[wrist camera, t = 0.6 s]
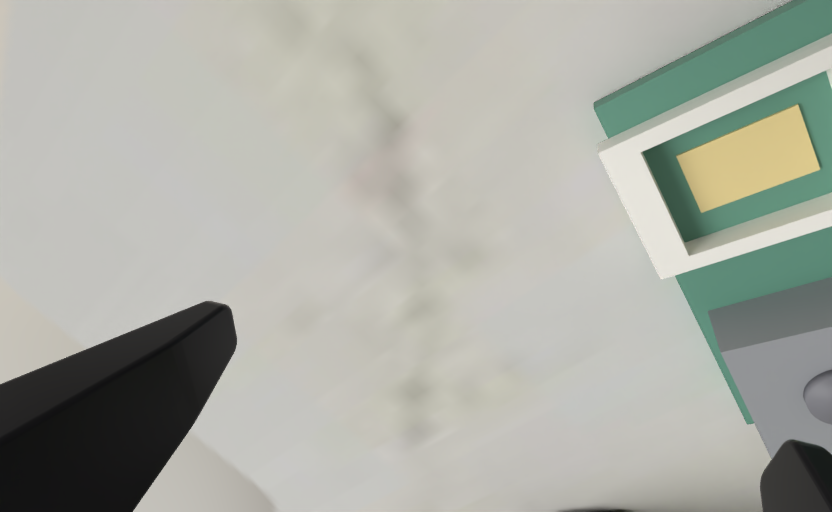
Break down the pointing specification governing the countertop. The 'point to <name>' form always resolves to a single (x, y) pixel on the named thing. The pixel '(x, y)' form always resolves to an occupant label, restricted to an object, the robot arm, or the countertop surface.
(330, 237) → the countertop surface
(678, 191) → the board
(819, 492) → the robot arm
